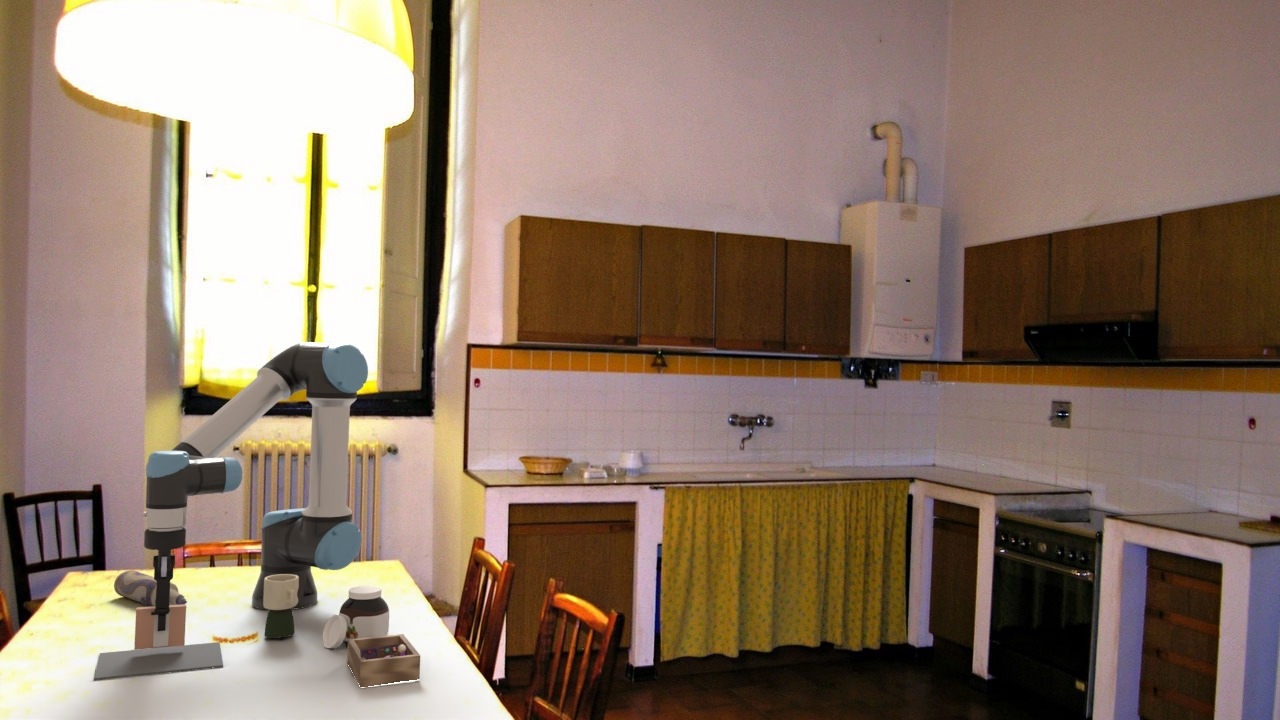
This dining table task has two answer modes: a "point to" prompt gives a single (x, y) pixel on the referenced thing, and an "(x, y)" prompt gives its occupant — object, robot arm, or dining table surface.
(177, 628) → the terracotta tile
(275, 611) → the character mug
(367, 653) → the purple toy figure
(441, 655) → the dining table surface
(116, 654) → the rubber mat
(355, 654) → the open wooden trinket box
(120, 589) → the decorative bottle
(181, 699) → the dining table surface
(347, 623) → the spread jar
